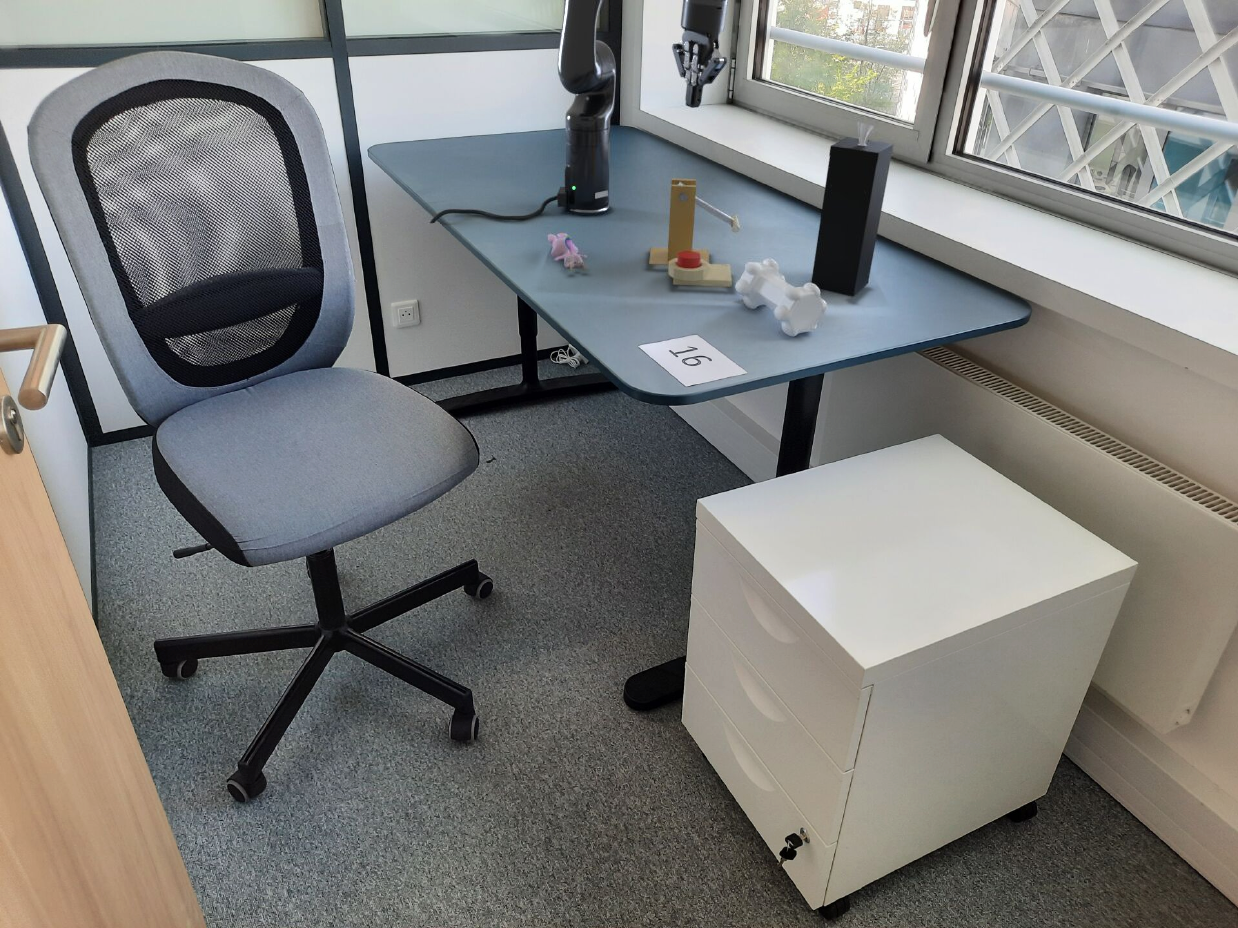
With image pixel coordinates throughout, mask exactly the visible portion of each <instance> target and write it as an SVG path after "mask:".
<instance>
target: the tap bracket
mask: <svg viewBox="0 0 1238 928" xmlns="http://www.w3.org/2000/svg"><path fill="white" fill-rule="evenodd" d="M679 182H682V183H684V184H685V185H678V184H679ZM670 183H671V184H670V198H669V199H670V201H669V202H670V203H669V204H670V205H669V220H668V240H667V247H652V246H651V247H650V251H649V259H648V260H649V261H648V264H649V265H655V266H656V265H657V266H669V261H671V260H672V259H674V258H678V253H679V252H682V251H695V252H698V253H700V254H701V259H703V260H705V261H706V262H708V263H709V264H710V255H709V254H710V253H709V249H703V248H702V249H701V248H700V249H699V248H698V249H697V248H693V245H694V242H693V241H694V227H695V214H696V204H695V199H696V197H697V196H696V195H697V179H695V178H671V182H670Z"/></svg>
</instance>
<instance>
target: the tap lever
mask: <svg viewBox="0 0 1238 928" xmlns="http://www.w3.org/2000/svg"><path fill="white" fill-rule="evenodd" d="M678 185H685V184H684V183H682V182H679V184H678ZM695 206H697V207H699V208H700V209H703V210H704V211H706V212H708V213H710V214H711V215H713V216H714V217H716V218H717V219H720V220H721V221H723V222H724V223H726V224H728V225H730V228H731V231H732V233H735V234H736V233H738V232H739V231H740V223H739V222H740V221H739V217H738V216H737V215H736V214H732V215H728V214H726V213H725V212H722V211H721V210H719V209H718V208H717V207H715V206H713V205H711V204H710V203H709V202H706V201H705V200H703V199H701V198H700V197H698V196H696V199H695Z"/></svg>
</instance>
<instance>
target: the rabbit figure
mask: <svg viewBox="0 0 1238 928" xmlns="http://www.w3.org/2000/svg"><path fill="white" fill-rule="evenodd" d="M547 240H548V243H549V244H550V245H551V246H552V249H551V253H550V254H551V255H552V256H553V257H554V259H553V261H554V262H557V261H560V260H563V266H564V267H565V268H566V269H570V271H571V272H572V271H573V268H575V267H577V268H583V270H586V264H585V262H584V260H583V259H587V258H588V256H587V255H586V254H580V253H578V252H579V249H578V247H577V246H576V245H575V244H574V243H573V240H572V237H571V235H570V234H569V235H568V233H566V232H560V233H557V235H555V234H552V233H549V234H547ZM582 258H583V259H582Z"/></svg>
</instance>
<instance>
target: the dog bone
mask: <svg viewBox="0 0 1238 928" xmlns="http://www.w3.org/2000/svg"><path fill="white" fill-rule="evenodd" d="M735 290H736V292H737V293H738V294H739V295H742V302H743V304H744V305H745V306H746V308H748V309H751V310H755V309H757V308H758V307H759V306H766V307H767V308H769V309H771V310H772V311H773V315H774V317H775V319H777V320H778V321H779V322H781V329H782V331H783V332H784V334H786V335H787V336H789V337H796V336H797V335H798V334H801V333H811V332H814V331H815V330H816V329H817V324H818V323H819V321H820V320H821V318H822V316H823V315H824V314H825V313H826V312H827V310H828V303H827V302H826V301H825V300H824V299H823V298H822V297H821V289H819V288H818V287H817V286H816V285H815V284H813V283H811V282H806V283H804V284H803V285H802V286H797V287H796V286H793V285H792V284H790V283H789V282H787V281H786V278H785V276H784V275H783V274H781V273H780V271H779V264H778V263H777V261H776V260H774V259H772V258H770V257H767V258H765V259H764V260H762V261H761V262H760V261H759V262H755V261H749V262H747V263H746V264H745V265H744V271H743V273H742V274H741V277H740V278H739V279H738V280H737V281H736V282H735Z"/></svg>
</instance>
